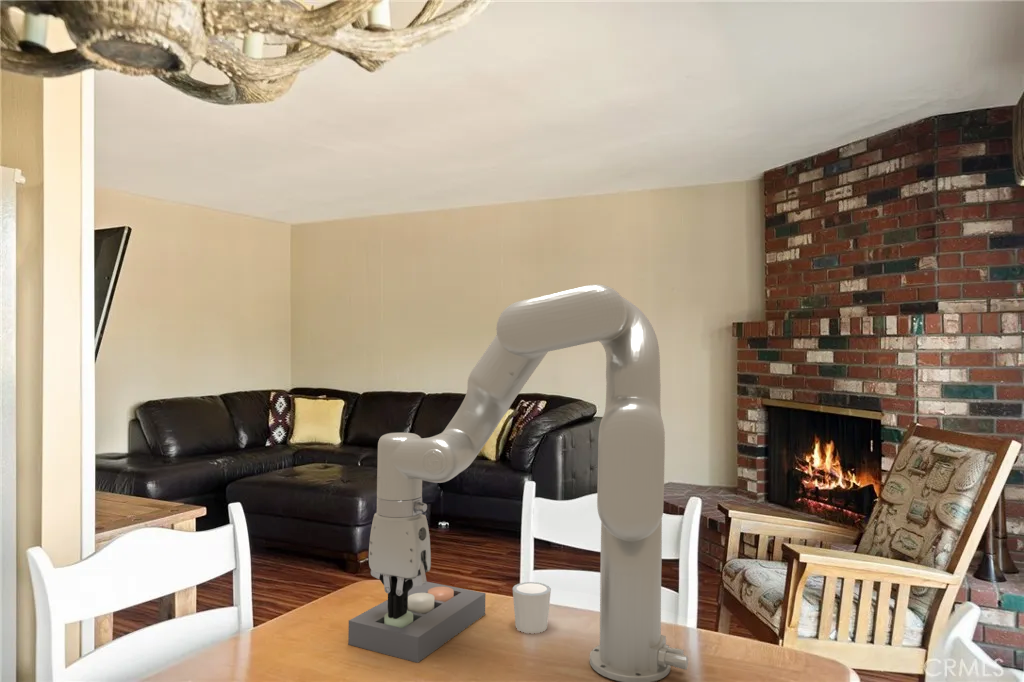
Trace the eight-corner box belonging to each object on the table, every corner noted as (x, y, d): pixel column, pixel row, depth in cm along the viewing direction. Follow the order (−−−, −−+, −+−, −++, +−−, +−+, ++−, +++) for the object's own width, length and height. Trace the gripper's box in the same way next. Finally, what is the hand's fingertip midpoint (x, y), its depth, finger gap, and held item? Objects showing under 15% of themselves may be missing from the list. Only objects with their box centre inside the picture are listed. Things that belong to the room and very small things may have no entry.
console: (485, 614, 128) (485, 593, 128) (417, 662, 108) (417, 637, 109) (422, 601, 134) (423, 580, 134) (348, 644, 115) (348, 620, 115)
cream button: (439, 612, 123) (439, 595, 123) (424, 622, 118) (424, 604, 118) (417, 607, 125) (417, 591, 125) (401, 616, 120) (401, 599, 120)
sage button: (418, 630, 117) (418, 613, 117) (401, 641, 112) (402, 623, 112) (395, 625, 119) (395, 608, 119) (378, 635, 115) (378, 617, 115)
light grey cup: (551, 635, 119) (551, 595, 119) (511, 634, 119) (512, 594, 119) (549, 619, 126) (550, 581, 126) (512, 619, 126) (512, 581, 126)
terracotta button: (458, 605, 128) (458, 589, 128) (444, 614, 124) (444, 597, 124) (436, 600, 130) (436, 585, 131) (422, 609, 126) (422, 593, 126)
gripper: (448, 507, 116) (447, 616, 116) (377, 497, 123) (375, 600, 122) (423, 517, 109) (421, 632, 109) (349, 506, 116) (348, 614, 116)
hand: (397, 615), depth 116 cm, fingers closed
